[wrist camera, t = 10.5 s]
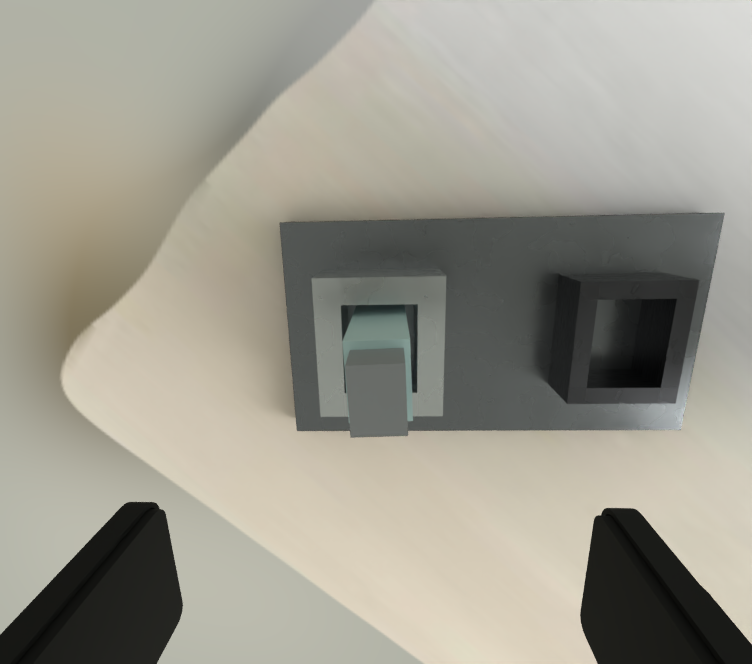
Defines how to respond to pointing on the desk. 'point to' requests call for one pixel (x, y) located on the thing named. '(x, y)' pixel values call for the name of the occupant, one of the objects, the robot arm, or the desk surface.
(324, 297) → the panel
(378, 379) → the plug
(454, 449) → the desk surface
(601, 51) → the desk surface
